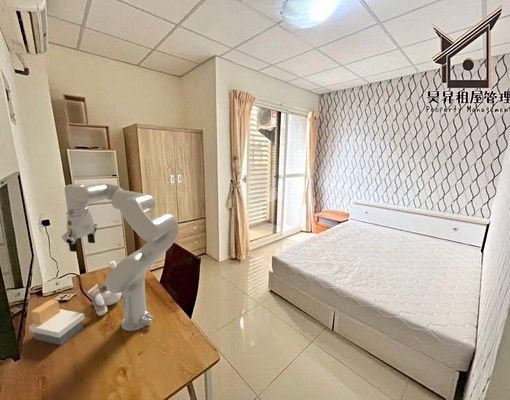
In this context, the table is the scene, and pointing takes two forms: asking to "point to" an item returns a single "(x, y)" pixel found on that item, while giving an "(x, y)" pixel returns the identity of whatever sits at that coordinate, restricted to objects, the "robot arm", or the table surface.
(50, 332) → the lid
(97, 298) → the cosmetic set
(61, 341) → the tub
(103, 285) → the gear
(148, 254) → the robot arm
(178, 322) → the table surface
